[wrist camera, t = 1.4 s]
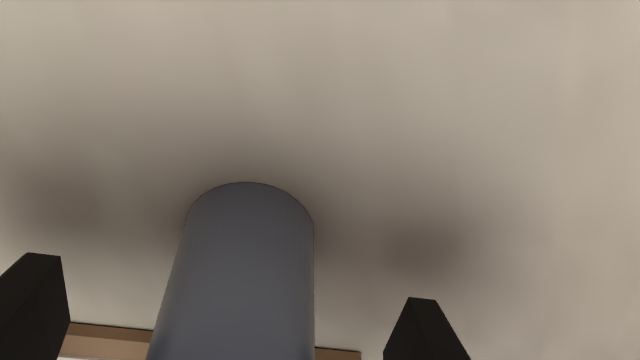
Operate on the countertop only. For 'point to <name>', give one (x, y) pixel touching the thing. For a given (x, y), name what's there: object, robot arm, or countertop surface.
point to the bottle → (240, 280)
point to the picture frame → (135, 345)
